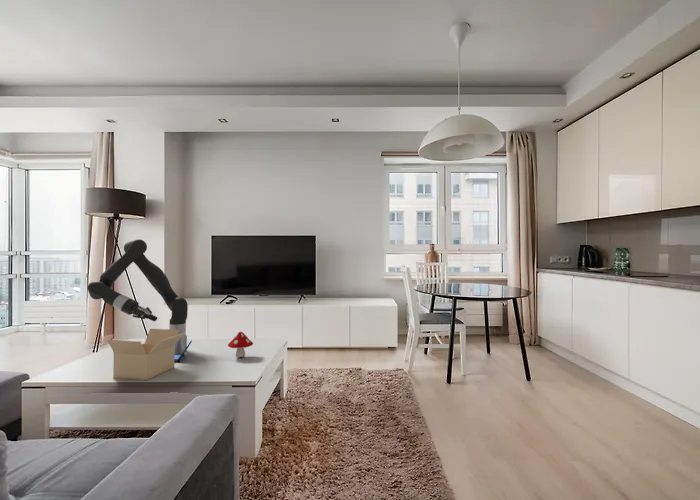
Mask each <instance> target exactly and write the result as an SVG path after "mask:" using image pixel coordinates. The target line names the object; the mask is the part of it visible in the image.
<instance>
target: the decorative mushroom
mask: <svg viewBox="0 0 700 500" xmlns="http://www.w3.org/2000/svg"><path fill="white" fill-rule="evenodd" d="M253 345H254V342H253V341H252V340H250V339H249V337H248V336H247V335H246V334H245V333H244V332H243V331H239V332H237V333H236V335H235V336H234V337H233V339H232V340H231V341H230V342H228V344H227V347H228V348H230V349H236V352H235V357H236V358H237V357H243V356H244V357H245V356H246V351H245V348H249V347H252V346H253ZM244 357H243V358H244Z"/></svg>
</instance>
